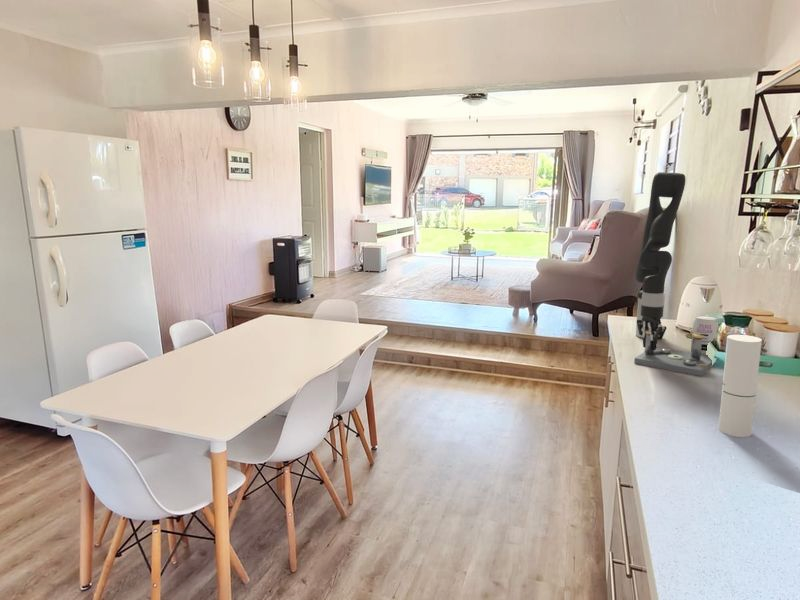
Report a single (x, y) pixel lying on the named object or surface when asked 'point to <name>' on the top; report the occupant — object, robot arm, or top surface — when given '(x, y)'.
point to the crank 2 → (694, 350)
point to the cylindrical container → (739, 385)
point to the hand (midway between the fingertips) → (649, 348)
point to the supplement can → (705, 330)
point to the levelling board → (675, 362)
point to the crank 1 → (648, 351)
